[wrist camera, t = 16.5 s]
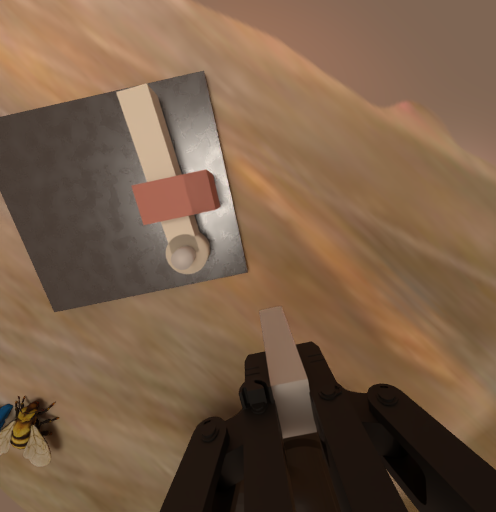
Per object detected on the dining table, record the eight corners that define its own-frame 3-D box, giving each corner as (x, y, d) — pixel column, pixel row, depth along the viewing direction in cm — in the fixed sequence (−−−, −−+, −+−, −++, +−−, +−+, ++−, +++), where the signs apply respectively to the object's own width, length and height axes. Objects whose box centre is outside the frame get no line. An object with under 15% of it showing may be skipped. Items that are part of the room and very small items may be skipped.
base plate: (247, 269, 43) (247, 272, 41) (60, 308, 44) (54, 312, 42) (205, 75, 35) (203, 70, 34) (-19, 126, 36) (-30, 123, 35)
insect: (76, 394, 48) (57, 416, 44) (61, 448, 52) (42, 474, 47) (16, 377, 47) (-10, 398, 42) (5, 434, 50) (-20, 459, 46)
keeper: (220, 206, 39) (215, 209, 31) (161, 219, 39) (143, 225, 32) (212, 174, 37) (206, 169, 30) (152, 187, 38) (131, 185, 30)
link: (214, 261, 40) (209, 275, 33) (179, 270, 40) (167, 285, 34) (164, 93, 34) (145, 69, 27) (123, 105, 34) (94, 83, 28)
